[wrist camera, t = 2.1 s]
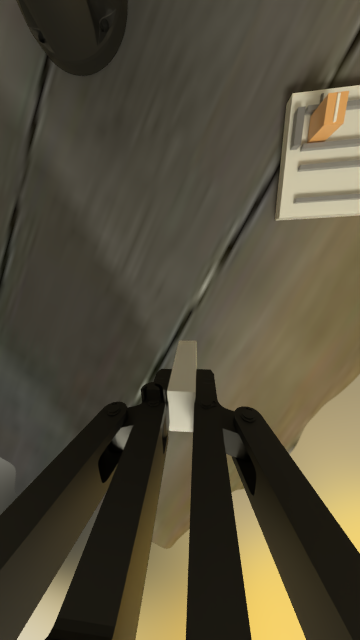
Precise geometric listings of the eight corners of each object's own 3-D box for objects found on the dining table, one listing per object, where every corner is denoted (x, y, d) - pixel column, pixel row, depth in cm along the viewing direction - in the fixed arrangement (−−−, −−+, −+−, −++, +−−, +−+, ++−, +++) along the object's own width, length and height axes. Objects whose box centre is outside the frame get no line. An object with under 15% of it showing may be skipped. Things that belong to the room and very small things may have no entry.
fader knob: (310, 116, 27) (329, 91, 23) (328, 114, 27) (350, 89, 23) (306, 143, 28) (324, 124, 24) (323, 141, 28) (344, 122, 24)
